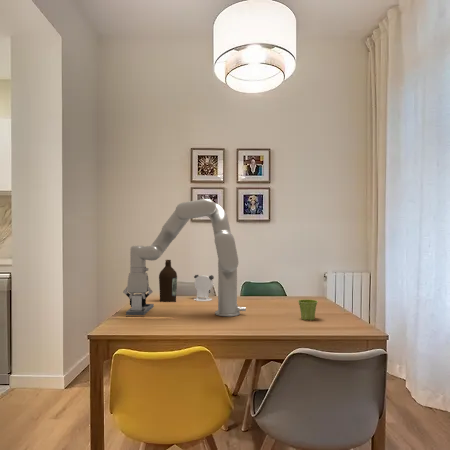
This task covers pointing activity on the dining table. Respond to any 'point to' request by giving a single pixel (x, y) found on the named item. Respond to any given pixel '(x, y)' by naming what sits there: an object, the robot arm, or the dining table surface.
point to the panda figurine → (203, 287)
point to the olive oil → (168, 283)
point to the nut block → (137, 302)
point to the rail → (146, 308)
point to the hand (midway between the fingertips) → (137, 306)
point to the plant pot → (307, 309)
